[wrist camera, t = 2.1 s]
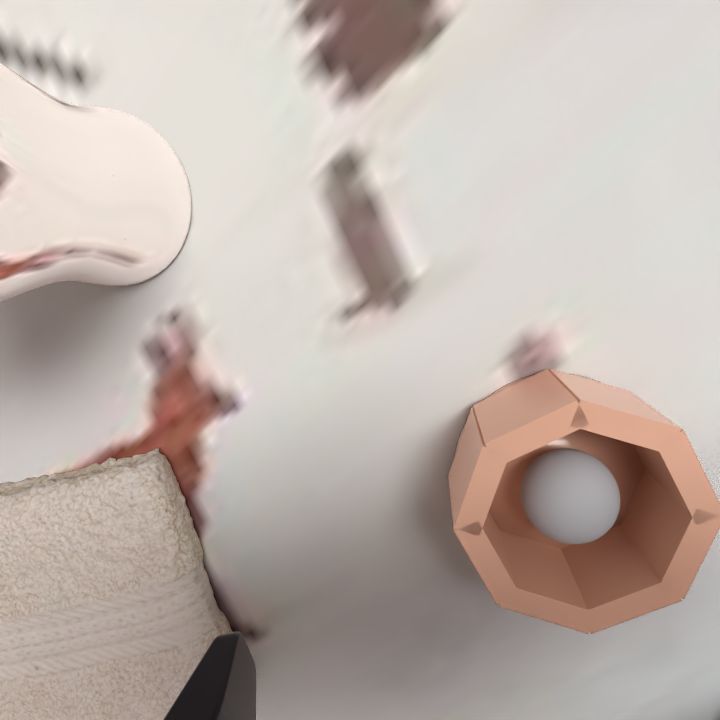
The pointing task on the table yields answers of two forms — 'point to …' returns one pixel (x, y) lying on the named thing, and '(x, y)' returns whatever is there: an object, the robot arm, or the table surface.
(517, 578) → the plant pot
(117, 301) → the table surface
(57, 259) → the silver metal tumbler
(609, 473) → the ball
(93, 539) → the washcloth
